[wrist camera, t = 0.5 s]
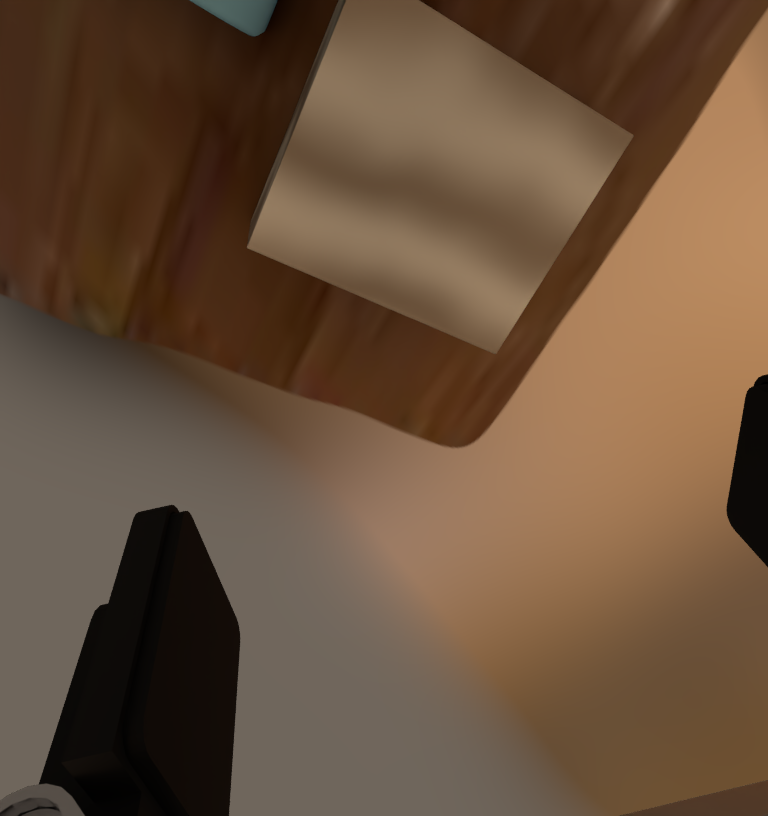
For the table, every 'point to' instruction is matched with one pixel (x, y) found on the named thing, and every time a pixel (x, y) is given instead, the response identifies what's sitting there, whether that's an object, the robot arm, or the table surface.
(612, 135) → the birch riser block
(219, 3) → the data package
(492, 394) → the table surface
